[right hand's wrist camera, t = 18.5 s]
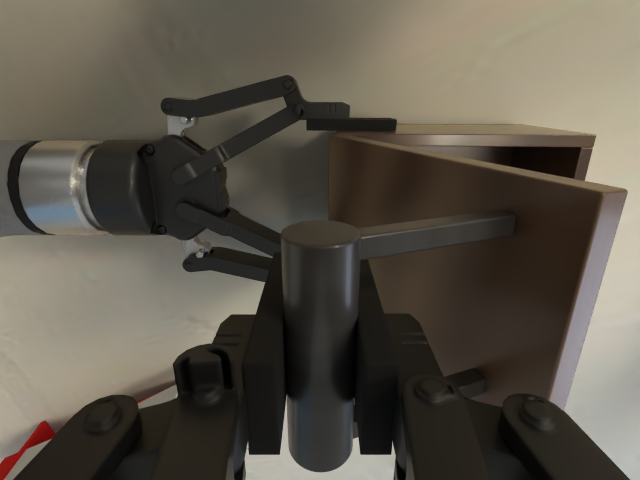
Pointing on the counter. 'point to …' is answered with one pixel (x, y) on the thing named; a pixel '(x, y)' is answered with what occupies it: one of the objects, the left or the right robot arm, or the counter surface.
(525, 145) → the chest
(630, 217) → the counter surface
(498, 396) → the lid
